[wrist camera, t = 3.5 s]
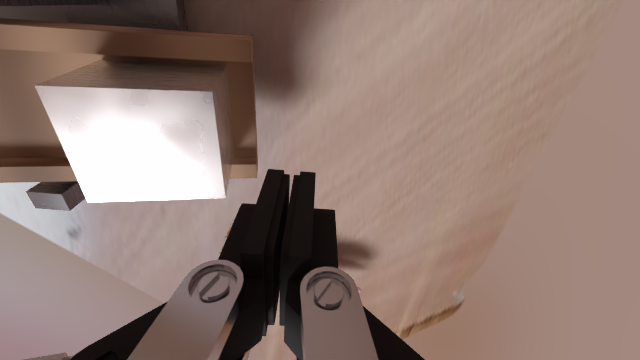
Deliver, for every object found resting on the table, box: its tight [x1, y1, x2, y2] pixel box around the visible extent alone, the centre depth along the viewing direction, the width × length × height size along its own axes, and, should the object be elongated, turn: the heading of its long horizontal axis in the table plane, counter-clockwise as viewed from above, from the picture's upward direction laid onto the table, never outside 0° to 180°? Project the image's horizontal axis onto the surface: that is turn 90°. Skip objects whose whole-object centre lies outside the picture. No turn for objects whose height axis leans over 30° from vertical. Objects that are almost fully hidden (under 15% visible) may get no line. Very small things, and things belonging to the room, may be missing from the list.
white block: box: [35, 59, 235, 202], centre depth 14 cm, size 6×5×5 cm
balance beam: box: [0, 18, 258, 183], centre depth 15 cm, size 23×8×2 cm, turn 85°
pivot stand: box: [0, 0, 187, 211], centre depth 17 cm, size 12×14×8 cm
